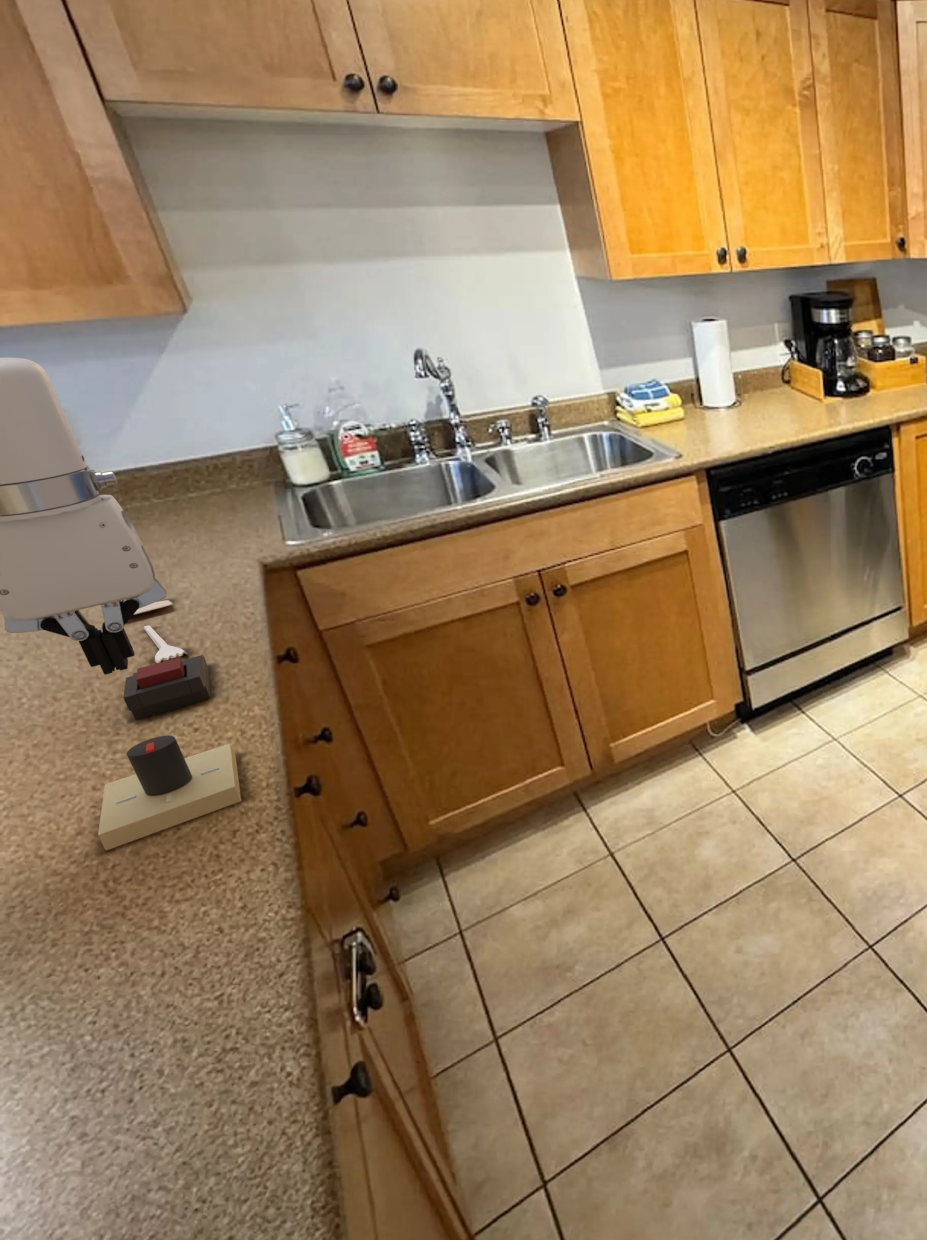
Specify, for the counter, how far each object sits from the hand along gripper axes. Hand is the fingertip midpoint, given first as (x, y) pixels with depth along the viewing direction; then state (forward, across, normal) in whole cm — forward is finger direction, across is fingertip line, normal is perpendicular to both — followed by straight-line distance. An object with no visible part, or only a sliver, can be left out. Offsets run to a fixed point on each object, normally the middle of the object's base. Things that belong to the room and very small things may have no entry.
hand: (116, 666), depth 78 cm
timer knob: (+14, 0, +1) cm, 14 cm away
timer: (+16, 0, +1) cm, 16 cm away
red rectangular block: (+12, 0, -27) cm, 30 cm away
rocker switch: (+16, 0, -31) cm, 35 cm away
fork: (+16, +1, -50) cm, 53 cm away
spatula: (+16, +4, -81) cm, 83 cm away
